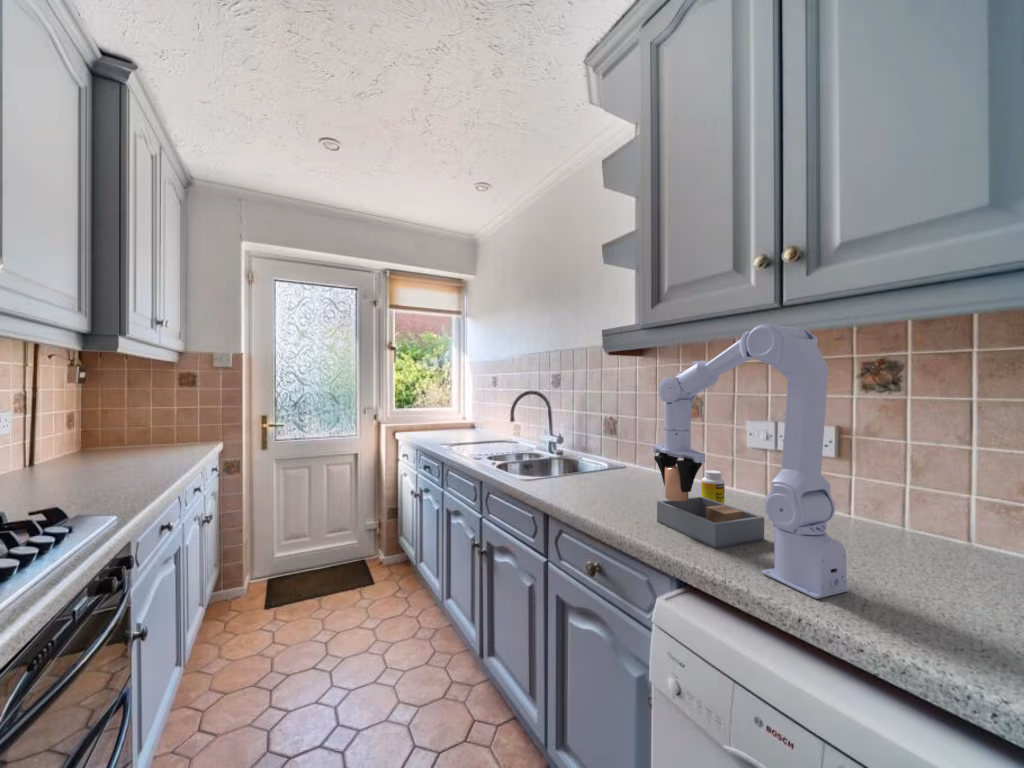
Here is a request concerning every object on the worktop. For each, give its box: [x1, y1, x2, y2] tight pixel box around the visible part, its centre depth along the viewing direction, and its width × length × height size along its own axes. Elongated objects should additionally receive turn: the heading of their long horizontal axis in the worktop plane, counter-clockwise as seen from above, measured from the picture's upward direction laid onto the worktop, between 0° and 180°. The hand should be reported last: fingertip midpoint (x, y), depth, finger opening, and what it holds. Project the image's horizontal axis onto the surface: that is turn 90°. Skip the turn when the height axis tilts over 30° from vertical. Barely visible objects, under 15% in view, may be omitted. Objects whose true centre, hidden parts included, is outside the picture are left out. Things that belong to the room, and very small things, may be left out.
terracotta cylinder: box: [664, 465, 690, 501], centre depth 95 cm, size 5×5×7 cm
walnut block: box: [706, 505, 742, 523], centre depth 91 cm, size 5×5×5 cm
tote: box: [656, 495, 765, 550], centre depth 94 cm, size 18×14×5 cm
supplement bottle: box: [701, 469, 726, 504], centre depth 110 cm, size 6×6×10 cm
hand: (677, 488), depth 95 cm, fingers closed on terracotta cylinder, 5 cm apart
